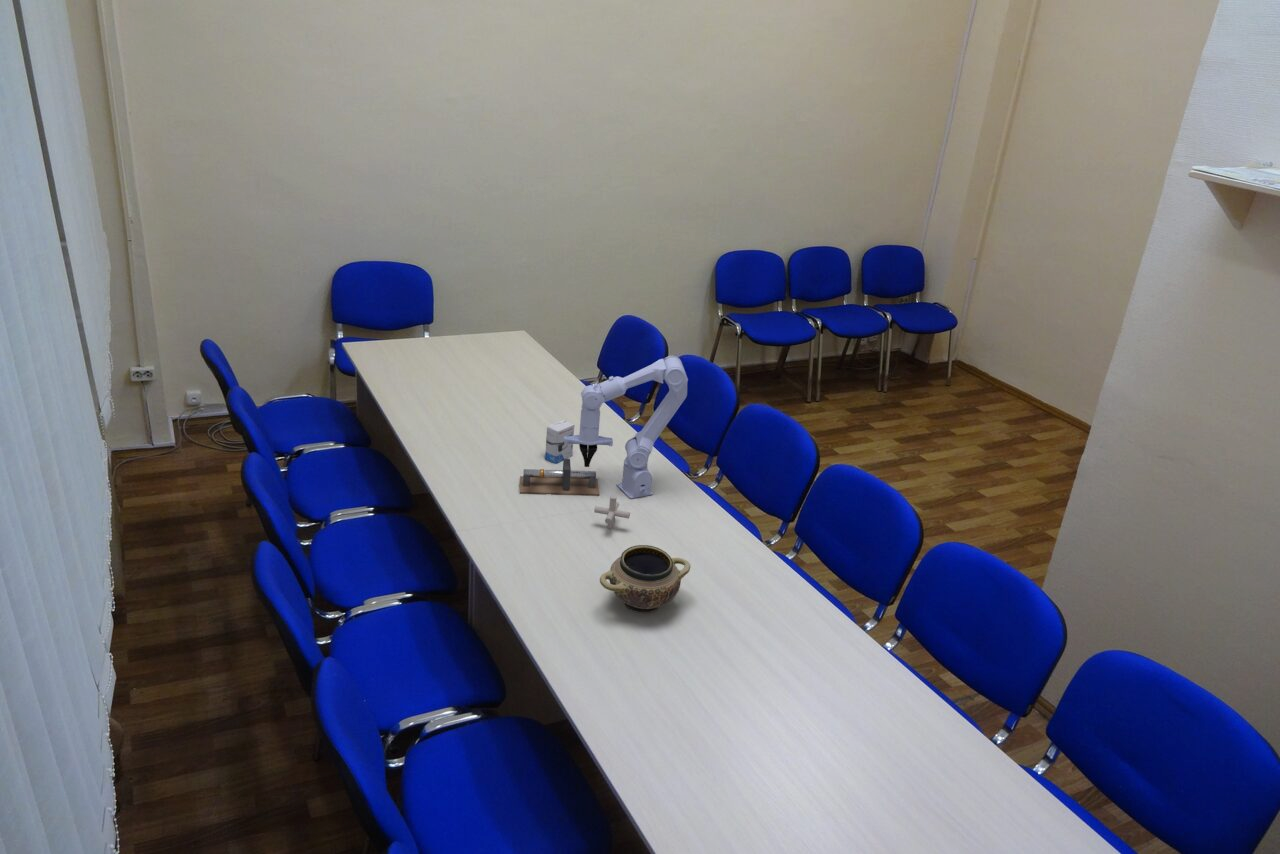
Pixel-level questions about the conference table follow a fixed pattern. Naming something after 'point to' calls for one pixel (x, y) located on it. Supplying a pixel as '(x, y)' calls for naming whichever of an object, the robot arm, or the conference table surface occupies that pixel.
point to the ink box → (558, 441)
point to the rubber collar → (566, 474)
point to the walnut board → (558, 487)
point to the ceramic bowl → (645, 578)
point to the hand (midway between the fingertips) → (586, 465)
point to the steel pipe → (558, 475)
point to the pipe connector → (611, 512)
